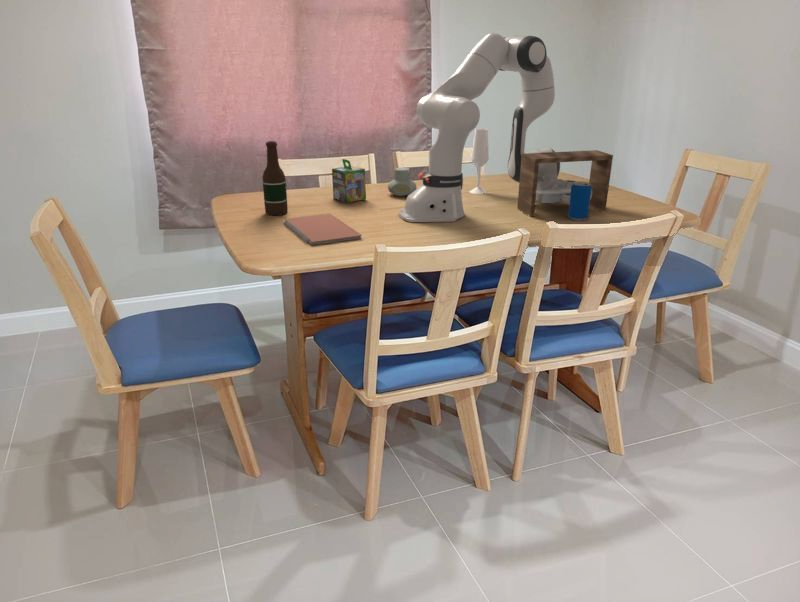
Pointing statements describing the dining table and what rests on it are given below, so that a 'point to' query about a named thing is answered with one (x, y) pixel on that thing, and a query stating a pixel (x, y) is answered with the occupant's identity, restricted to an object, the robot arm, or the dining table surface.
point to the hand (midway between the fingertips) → (574, 200)
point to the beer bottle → (274, 184)
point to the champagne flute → (480, 154)
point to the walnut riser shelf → (531, 161)
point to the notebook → (321, 229)
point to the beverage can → (579, 200)
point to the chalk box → (348, 183)
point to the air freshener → (402, 183)
